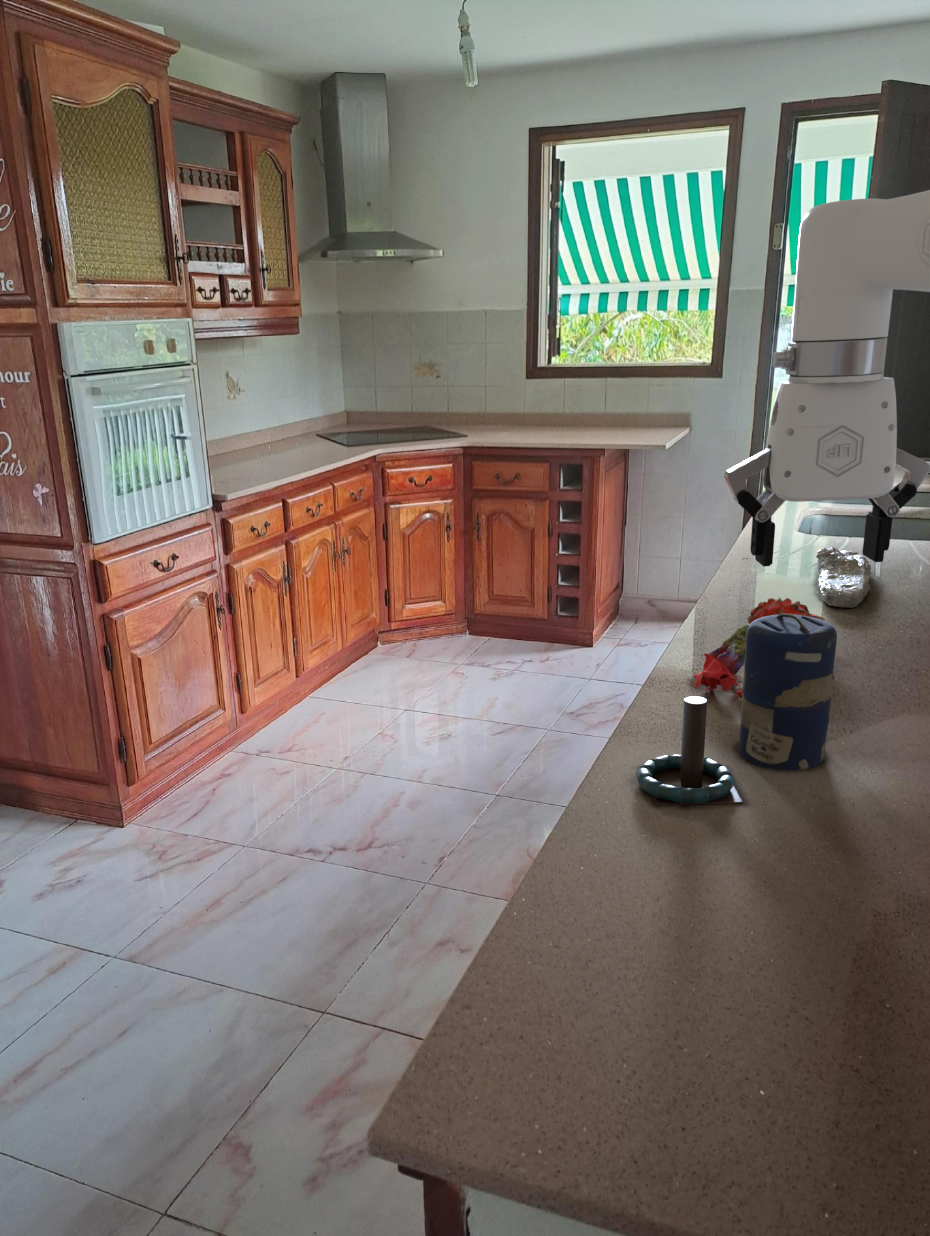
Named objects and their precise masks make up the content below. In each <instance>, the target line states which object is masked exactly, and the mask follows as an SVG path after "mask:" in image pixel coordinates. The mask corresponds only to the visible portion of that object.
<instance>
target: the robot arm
mask: <svg viewBox="0 0 930 1236" xmlns="http://www.w3.org/2000/svg"><path fill="white" fill-rule="evenodd" d="M797 244H798V245H797V256H796V257H797V259H796V270H795V271H796V273H795V285H794V296H793V297H794V299H793V311H792V321H791V322H792V323H791V334H790V335H791V336H790V342H788V344H787V346H786V348H785V349H782V350H780V351H779V350H778V351H774V352H773V353H772V357H771V358H772V359H771V365H772V368H773V369H782V370H784V371H785V374H786V375H787V380H781V381H780V383H779V385H778V389H777V392H776V395H775V399H774V404H773V407H772V410H771V411H772V412H771V417H770V422H769V427H768V431H767V438H766V443H765V444H766V445H765V448H764V449H763V450H762V451H759V452H757V453H756V454H754V455H753V456H751V457H749V458H747V459H745V460H743V461H742V462H740V463H738V464H736V465H734V466H732V467H730V468H728V469H727V470H725V471H724V474H723V476H724V477H723V478H724V479H725V481H726V484H727V486H728V488H729V491H730V492H731V494H732V496H733V499H734V501H735V502H736V503H737V504H738V505H739V506H740V507H741V508H742V509H743V510H744V511H745V512H746V513H747V514H748V515H749V517H751V518H752V520H751V535H750V554H751V555H752V556H753V557H754V558H755V561H756V562H757V563H758V564H759V565H761V567H771V566H772V565H773V561H774V559H773V558H774V550H775V549H774V548H775V547H774V546H775V534H776V524H775V523H776V522H774V521H772V516H773V515H774V514H775V513H776V512H777V511H778V509H780V508H781V506H782V505H783V504H784V503H785V502H786V501H787V502H797V503H799V502H800V503H802V502H827V501H849V500H850V501H851V500H852V501H853V500H867V502H868V503H869V504H870V506H871V507H872V508H871V509H872V510H871V511H868V513H867V514H866V516H865V526H864V533H863V534H864V535H863V542H862V543H863V544H862V556H863V557H865V558H868V559H869V560H871V561H873V562H874V563H883V561H884V558H885V552H886V551H888V550H889V548H890V544H891V536H892V535H891V534H892V526H893V519H894V518H895V517H897V516H898V515H899V513H900V510H901V509H902V508H903V507H904V506H906V504H908V502H910V501H911V500H912V499H914V497H915V496H916V495H917V493H918V489H919V487H921V485H922V484H923V483H924V481H925V479H926V477H927V476H928V474H929V473H930V463H929V462H927V461H925V460H923V459H921V458H919V457H917V456H915V455H913V454H911V453H909V452H907V451H905V450H903V449H900V448H899V447H897V446H898V444H897V443H898V442H897V441H898V417H897V416H898V414H897V413H898V411H897V395H896V394H897V393H896V384H895V378H894V377H888V376H884V373H885V363H886V356H887V347H888V337H889V328H890V321H891V312H892V311H891V310H892V301H893V291H894V290H896V291H897V290H898V291H914V292H924V293H925V292H926V293H930V189H928V190H924V191H920V192H915V193H911V194H908V195H902V196H896V197H893V198H886V199H885V198H876V197H875V198H874V197H873V198H872V197H871V198H854V199H853V198H852V199H845V200H837V201H830V202H826V203H822V204H817V205H816V206H813V207H812V208H810V209H809V210H808V211H807V212H806V213H805V214H804V215H803V217H802V219H801V223H800V226H799V234H798V243H797ZM896 466H897V467H900V468H901V469H903V471H904V475H903V476H902V479H901V481H900V482H899V483H897V484H896V485H895V486H894V482H895V477H896ZM761 471H762V484H763V489H764V490H763V491H762V492H761V493H760V494H759V495H758V496H757V498H756V497H755V496H754V495H752V494H751V493H750V491H749V488H748V486H747V480H748V479H749V478H750V477H752V476H753V475H756V474H757V473H759V472H761ZM893 486H894V487H893Z"/></svg>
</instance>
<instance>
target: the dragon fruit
mask: <svg viewBox="0 0 930 1236" xmlns="http://www.w3.org/2000/svg"><path fill="white" fill-rule="evenodd" d="M783 613H787V614H792V615H802V616H809V617H814V618H818V619H821V620H823V621H826V620H825V618H823V617H822V616H820V615H817V614H813V613H811V612H810V610H809V608H808V606H807V605H805V604H802V603H801V601H799V600H796V601H794V602H793V601H792V599H791V598H789V597H786V598H785V599H782V598H781V597H779V598H777V599H775V598H774V597H768V598H767V601H760V602H758V604H757V606H755V607H754V608H752V609H751V610H750V615H749V616H747V617H746V619H747V622H748V625H749V624H751V623H752V622H753V621H754V620H756V619H759V618H761V617H765V616H771V615H779V614H783Z"/></svg>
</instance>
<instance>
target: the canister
mask: <svg viewBox="0 0 930 1236" xmlns="http://www.w3.org/2000/svg"><path fill="white" fill-rule="evenodd" d="M748 625H749V624H748ZM837 641H838V632H837V630H836V628H835V626H833V625H832V624H831V623H830V622H828V621H826V620H825V621H823V620H821V619H818V618H814V617H809V616H802V615H792V614H787V613H783V614H779V615H771V616H765V617H761V618H759V619H756V620H754V621H753V622H752V623H751V624H750V625H749V627H748V630H747V637H746V652H745V663H744V665H743V679H742V689H741V690H742V692H743V696H742V699H741V712H740V714H741V715H740V726H739V740H738V741H739V742H738V751H739V753H740V756H741V757H742V758H743V759H744V760H746V761H747V762H749V763H752V764H754V765H756V766H759V767H762V768H767V769H772V770H779V771H799V770H807V769H810V768H815V767H816V766H818V765H820V764H821V763H822V762H823V760H824V758H825V753H826V745H827V744H826V743H827V737H828V728H829V723H830V714H831V705H832V693H833V687H834V684H833V683H834V682H833V681H834V679H835V676H834V669H835V659H836V652H837V651H836V650H837Z"/></svg>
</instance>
